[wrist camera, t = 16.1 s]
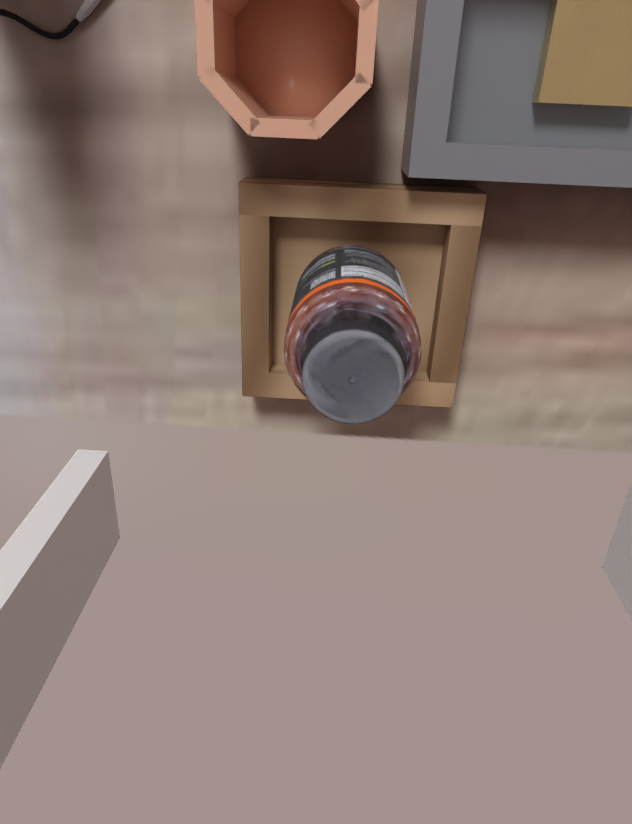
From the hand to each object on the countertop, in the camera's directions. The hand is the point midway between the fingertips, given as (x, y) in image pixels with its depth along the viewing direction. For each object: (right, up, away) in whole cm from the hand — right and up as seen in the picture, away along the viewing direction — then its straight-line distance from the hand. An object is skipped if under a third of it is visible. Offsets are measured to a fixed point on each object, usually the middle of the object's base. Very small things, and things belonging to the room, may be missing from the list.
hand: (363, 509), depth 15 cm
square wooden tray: (+1, +9, +18) cm, 21 cm away
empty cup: (-2, +20, +13) cm, 24 cm away
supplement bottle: (+1, +9, +18) cm, 20 cm away
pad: (+11, +19, +12) cm, 25 cm away
